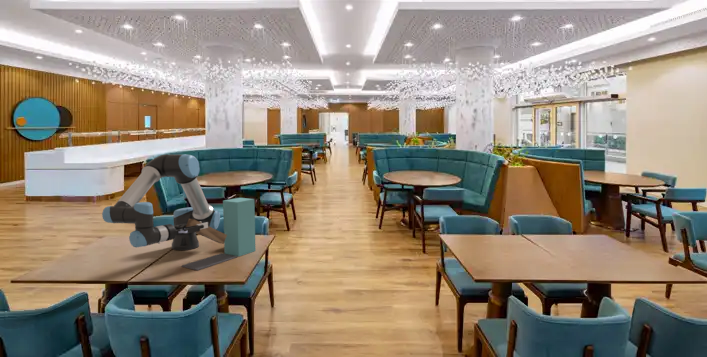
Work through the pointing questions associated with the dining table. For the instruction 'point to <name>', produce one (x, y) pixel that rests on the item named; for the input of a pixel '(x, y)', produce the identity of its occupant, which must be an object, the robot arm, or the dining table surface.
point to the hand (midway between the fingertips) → (204, 224)
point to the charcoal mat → (209, 261)
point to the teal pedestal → (239, 226)
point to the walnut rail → (208, 232)
